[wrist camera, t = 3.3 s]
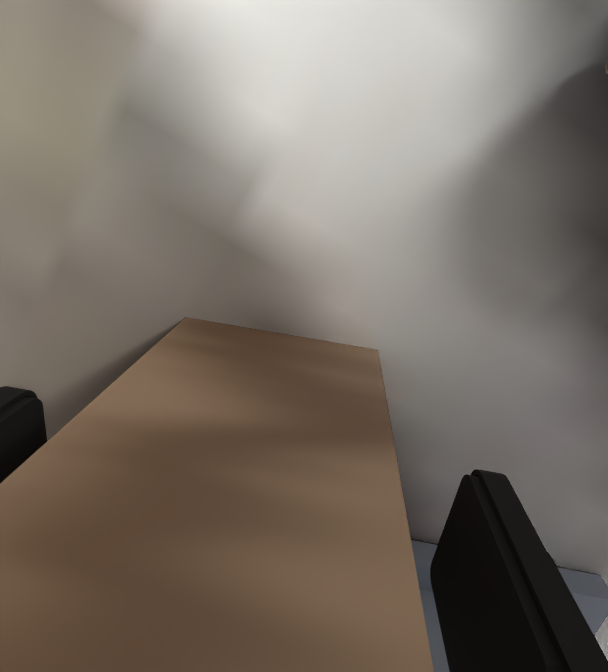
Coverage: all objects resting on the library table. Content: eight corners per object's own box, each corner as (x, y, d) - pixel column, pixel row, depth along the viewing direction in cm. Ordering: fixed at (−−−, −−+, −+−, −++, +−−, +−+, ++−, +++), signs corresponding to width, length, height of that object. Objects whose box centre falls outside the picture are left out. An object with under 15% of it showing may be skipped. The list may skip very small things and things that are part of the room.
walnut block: (377, 349, 10) (453, 791, 3) (342, 499, 12) (336, 996, 5) (185, 317, 11) (-194, 656, 3) (180, 470, 12) (-62, 905, 5)
